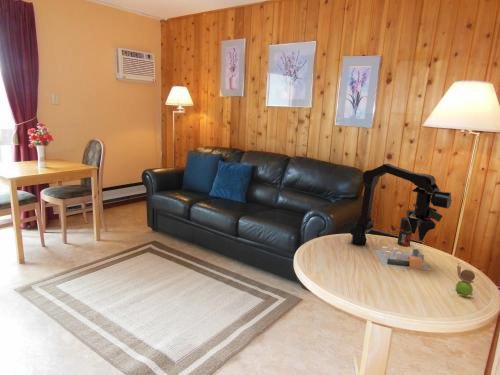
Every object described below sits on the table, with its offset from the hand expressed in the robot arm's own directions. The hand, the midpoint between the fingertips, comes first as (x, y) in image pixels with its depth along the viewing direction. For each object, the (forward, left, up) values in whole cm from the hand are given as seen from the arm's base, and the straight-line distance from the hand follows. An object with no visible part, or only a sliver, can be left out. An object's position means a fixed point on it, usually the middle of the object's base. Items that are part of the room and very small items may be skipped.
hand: (416, 236), depth 152 cm
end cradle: (+4, +5, -12) cm, 14 cm away
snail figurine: (+11, -23, -14) cm, 29 cm away
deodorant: (+2, +23, -14) cm, 27 cm away
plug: (-5, -5, -12) cm, 14 cm away
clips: (-8, +5, -12) cm, 16 cm away
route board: (-5, +2, -14) cm, 14 cm away
